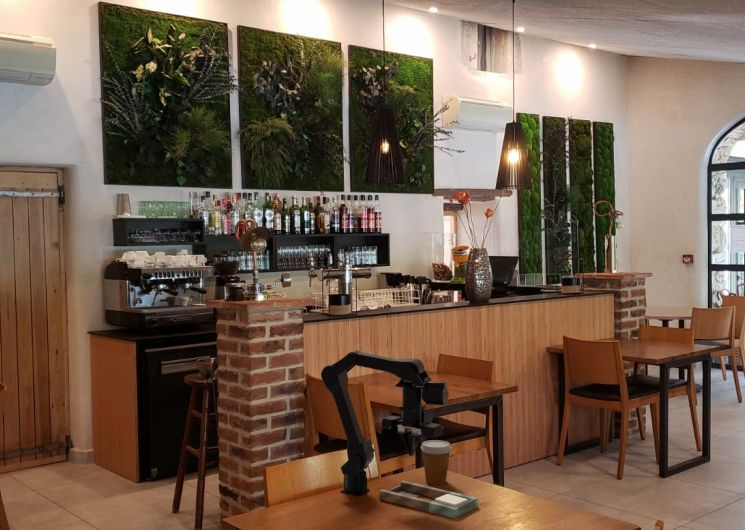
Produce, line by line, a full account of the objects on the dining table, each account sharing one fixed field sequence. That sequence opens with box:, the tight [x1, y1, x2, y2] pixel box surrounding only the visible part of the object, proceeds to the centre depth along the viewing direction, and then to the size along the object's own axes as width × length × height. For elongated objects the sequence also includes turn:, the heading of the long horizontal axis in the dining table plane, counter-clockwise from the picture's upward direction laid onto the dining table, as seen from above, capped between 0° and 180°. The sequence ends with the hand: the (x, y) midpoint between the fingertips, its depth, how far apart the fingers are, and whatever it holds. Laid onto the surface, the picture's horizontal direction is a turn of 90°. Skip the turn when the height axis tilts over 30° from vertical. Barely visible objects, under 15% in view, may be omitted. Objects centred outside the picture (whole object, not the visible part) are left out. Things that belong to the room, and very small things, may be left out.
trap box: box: [379, 480, 479, 519], centre depth 236 cm, size 26×12×2 cm, turn 52°
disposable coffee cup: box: [420, 439, 452, 485], centre depth 255 cm, size 10×10×12 cm
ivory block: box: [434, 494, 468, 507], centre depth 230 cm, size 7×6×4 cm
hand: (411, 455), depth 239 cm, fingers closed
